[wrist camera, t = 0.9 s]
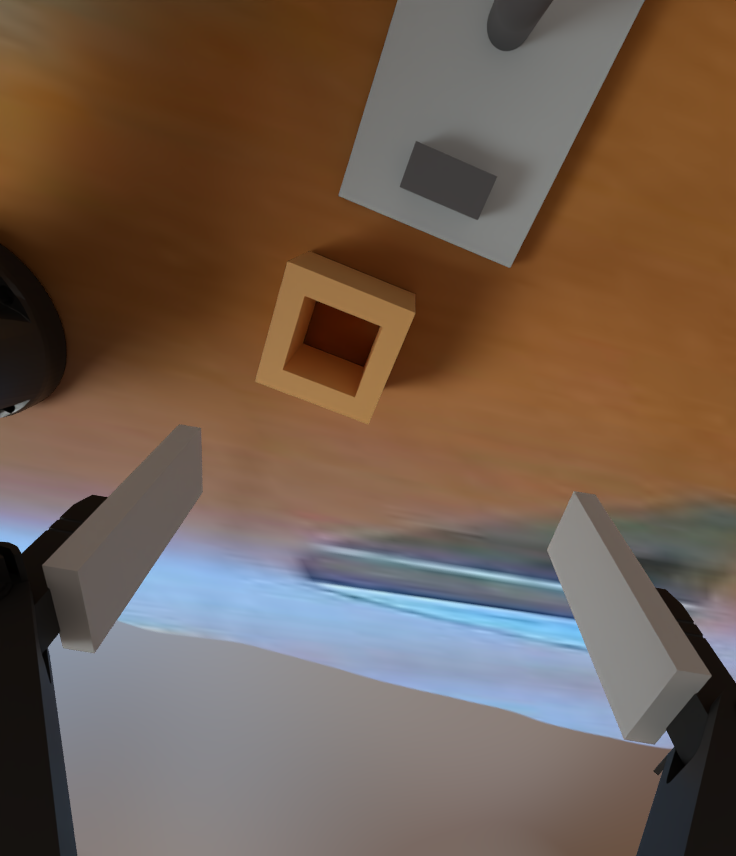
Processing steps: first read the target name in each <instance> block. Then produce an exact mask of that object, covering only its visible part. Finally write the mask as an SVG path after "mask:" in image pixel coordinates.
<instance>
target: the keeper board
mask: <svg viewBox="0 0 736 856" xmlns="http://www.w3.org/2000/svg"><path fill="white" fill-rule="evenodd" d="M643 2H644V0H398V1H397V4H396V7H395V11H394V14H393V17H392V21H391V24H390V27H389V30H388V34H387V37H386V40H385V44H384V47H383V50H382V54H381V57H380V60H379V63H378V67H377V70H376V73H375V77H374V80H373V83H372V87H371V90H370V93H369V96H368V100H367V103H366V106H365V110H364V113H363V116H362V120H361V123H360V126H359V129H358V133H357V136H356V139H355V143H354V146H353V149H352V153H351V156H350V159H349V163H348V166H347V169H346V172H345V176H344V179H343V182H342V186H341V189H340V192H339V196H340V197H342V198H345V199H347V200H350V201H352V202H354V203H357V204H359V205H361V206H364V207H366V208H369V209H371V210H373V211H376V212H378V213H380V214H383V215H385V216H388V217H390V218H392V219H395V220H397V221H399V222H402V223H404V224H407V225H409V226H411V227H414V228H416V229H418V230H421V231H423V232H426V233H428V234H430V235H433V236H435V237H437V238H440V239H442V240H445V241H447V242H449V243H452V244H454V245H456V246H459V247H461V248H464V249H466V250H468V251H471V252H473V253H476V254H478V255H480V256H483V257H485V258H487V259H490V260H492V261H495V262H497V263H499V264H502V265H504V266H506V267H509V268H510V267H511V265H512V263H513V261H514V259H515V257H516V255H517V253H518V251H519V249H520V247H521V245H522V243H523V241H524V239H525V237H526V235H527V233H528V231H529V229H530V227H531V225H532V223H533V221H534V219H535V217H536V215H537V213H538V211H539V209H540V207H541V205H542V203H543V201H544V200H545V198H546V196H547V194H548V192H549V190H550V188H551V186H552V184H553V182H554V180H555V178H556V176H557V174H558V172H559V170H560V168H561V166H562V164H563V162H564V160H565V158H566V156H567V154H568V152H569V150H570V148H571V146H572V144H573V142H574V140H575V138H576V136H577V134H578V132H579V130H580V128H581V126H582V124H583V122H584V120H585V118H586V116H587V114H588V112H589V110H590V108H591V106H592V104H593V102H594V100H595V98H596V96H597V94H598V92H599V90H600V88H601V86H602V84H603V82H604V80H605V78H606V76H607V74H608V72H609V70H610V68H611V66H612V64H613V62H614V60H615V58H616V56H617V54H618V52H619V50H620V48H621V46H622V44H623V42H624V40H625V38H626V36H627V34H628V32H629V30H630V28H631V26H632V24H633V22H634V20H635V18H636V16H637V14H638V12H639V10H640V8H641V6H642V4H643Z"/></svg>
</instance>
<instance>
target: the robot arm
mask: <svg viewBox="0 0 736 856" xmlns="http://www.w3.org/2000/svg"><path fill="white" fill-rule="evenodd" d="M65 364H66V343H65V336H64V332H63V328H62V325H61V322H60V319H59V316H58V314H57V311H56V309H55V307H54V305H53V303H52V301H51V299H50V298H49V296H48V294H47V293H46V291H45V290H44V288H43V287H42V285H41V284H40V282H39V281H38V280H37V278H36V277H35V276H34V275H33V274H32V272H31V271H30V270H29V269H28V268H27V267H26V266H25V265H24V264H23V263H22V262H21V261H20V260H19V259H18V258H17V257H16V256H15V255H14V254H13V253H11V252H10V251H9V250H8V249H6V248H5V247H4V246H2V245H1V244H0V418H1V417H7V416H10V415H14V414H16V413H19V412H21V411H23V410H25V409H27V408H29V407H31V406H33V405H35V404H37V403H38V402H40V401H42V400H44V399H45V398H46V397H48V396H49V395H50V394H51V393H52V392H53V391H54V390H55V388H56V387H57V386H58V384H59V382H60V380H61V378H62V375H63V372H64V369H65ZM202 492H203V489H202V446H201V428H198V427H192V426H186V425H180V424H179V425H178V426H177V427H176V428H175V429H174V430H173V431H172V432H171V433H170V434H169V435H168V436H167V437H166V438H165V439H164V440H163V441H162V442H161V443H160V444H159V446H158V447H157V448H156V449H155V450H154V451H153V452H152V453H151V454H150V455H149V456H148V457H147V458H146V459H145V460H144V461H143V462H142V463H141V464H140V465H139V466H138V467H137V468H136V469H135V470H134V471H133V472H132V473H131V474H130V475H129V476H128V477H127V478H126V479H125V480H124V482H123V483H122V484H121V485H120V486H119V487H118V488H117V489H116V490H115V491H114V492H113V493H112V494H111V495H110V496H109V497H103V496H97V495H91V496H89V497H87V498H85V499H83V500H81V501H80V502H78V503H76V504H74V505H73V506H72V507H71V508H69V509H68V510H67V511H66V512H65V513H64V514H63V515H62V516H61V517H60V520H57V521H56V522H55V523H54V524H52V525H51V526H50V527H49V530H48V531H47V530H46V531H45V532H44V533H43V534H42V535H41V536H40V537H39V538H38V539H37V540H35V541H34V542H33V543H32V544H31V545H30V546H29V547H28V548H27V549H26V550H25V551H24V552H23V553H22V554H21V552H20V550H19V548H18V547H17V546H15V545H13V544H11V543H9V542H0V856H77V850H76V843H75V837H74V828H73V821H72V815H71V807H70V800H69V792H68V785H67V778H66V771H65V763H64V756H63V749H62V741H61V734H60V728H59V720H58V712H57V706H56V698H55V691H54V684H53V676H52V670H51V662H50V655H49V651H48V646H49V645H50V644H51V642H52V641H53V640H54V639H55V637H56V636H57V635H58V633H59V634H60V637H61V642H62V646H63V648H66V649H72V650H78V651H84V652H90V653H95V652H96V650H97V649H98V647H99V646H100V644H101V643H102V641H103V639H104V638H105V637H106V635H107V634H108V632H109V631H110V629H111V628H112V626H113V625H114V623H115V622H116V620H117V619H118V618H119V616H120V615H121V613H122V612H123V610H124V609H125V607H126V606H127V604H128V603H129V601H130V600H131V598H132V597H133V595H134V594H135V592H136V591H137V589H138V588H139V586H140V585H141V583H142V582H143V580H144V579H145V577H146V576H147V574H148V573H149V571H150V570H151V568H152V567H153V565H154V564H155V562H156V561H157V559H158V558H159V556H160V555H161V553H162V552H163V550H164V549H165V547H166V546H167V545H168V543H169V542H170V540H171V539H172V537H173V536H174V534H175V533H176V531H177V530H178V528H179V527H180V525H181V524H182V522H183V521H184V519H185V518H186V516H187V515H188V513H189V512H190V510H191V509H192V507H193V506H194V504H195V503H196V501H197V500H198V498H199V497H200V495H201V494H202ZM547 551H548V554H549V556H550V559H551V561H552V564H553V566H554V568H555V571H556V573H557V576H558V578H559V581H560V583H561V586H562V588H563V591H564V593H565V595H566V598H567V600H568V603H569V605H570V608H571V610H572V613H573V615H574V618H575V620H576V623H577V625H578V627H579V630H580V632H581V635H582V637H583V640H584V642H585V645H586V647H587V650H588V652H589V654H590V657H591V659H592V662H593V664H594V667H595V669H596V672H597V674H598V677H599V679H600V682H601V684H602V686H603V689H604V691H605V694H606V696H607V699H608V701H609V704H610V706H611V709H612V711H613V713H614V716H615V718H616V721H617V723H618V726H619V728H620V731H621V733H622V736H623V738H624V740H630V741H636V742H642V743H648V744H654V745H655V743H656V742H657V741H658V740H659V739H660V737H661V736H662V735H663V734H664V733H665V731H666V730H667V732H668V734H669V736H670V738H671V741H672V743H673V745H674V748H673V749H672V750H671V751H670V752H669V753H668V755H667V756H666V757H665V758H664V759H663V760H662V762H661V763H660V764H659V765H658V766H657V767H656V769H655V770H654V772H655V773H656V774H657V775H659V774H660V773H661V771H662V770H663V772H662V775H661V778H660V781H659V785H658V788H657V791H656V794H655V798H654V801H653V804H652V807H651V810H650V813H649V817H648V820H647V823H646V827H645V829H644V833H643V836H642V839H641V842H640V846H639V849H638V852H637V855H636V856H736V683H735V681H734V680H733V678H732V677H731V675H730V674H729V672H728V671H727V670H726V668H725V667H724V665H723V664H722V662H721V661H720V659H719V658H718V656H717V655H716V653H715V652H714V650H713V649H712V648H711V646H710V645H709V643H708V642H707V640H706V639H705V638H703V634H702V633H701V631H700V630H699V629H698V627H697V626H696V625H694V623H693V622H694V621H693V620H692V618H691V617H690V615H689V614H688V612H687V611H686V609H685V608H684V607H683V605H682V604H681V603H680V602H679V601H678V600H677V599H675V598H674V597H673V596H672V595H671V594H670V593H669V592H668V591H667V590H666V589H660V588H655V587H654V585H653V584H652V582H651V580H650V579H649V577H648V576H647V574H646V573H645V571H644V570H643V568H642V566H641V565H640V563H639V562H638V560H637V559H636V557H635V556H634V554H633V552H632V551H631V549H630V548H629V546H628V545H627V543H626V542H625V540H624V538H623V537H622V535H621V534H620V532H619V531H618V529H617V528H616V526H615V524H614V523H613V521H612V520H611V518H610V517H609V515H608V514H607V512H606V510H605V509H604V507H603V506H602V504H601V503H600V501H599V500H598V498H597V496H596V495H594V494H588V493H582V492H576V491H574V492H573V494H572V496H571V499H570V501H569V503H568V505H567V507H566V510H565V512H564V514H563V516H562V518H561V521H560V523H559V525H558V527H557V529H556V531H555V534H554V536H553V538H552V540H551V542H550V545H549V547H548V549H547Z"/></svg>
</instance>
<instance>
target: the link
mask: <svg viewBox="0 0 736 856" xmlns="http://www.w3.org/2000/svg"><path fill="white" fill-rule="evenodd" d="M316 301H319V302H321V303H324V304H326V305H329V306H331V307H334V308H336V309H339V310H341V311H344V312H346V313H349V314H351V315H354V316H356V317H359V318H361V319H364V320H366V321H369V322H371V323H374V324H376V325H379V326H380V328H379V330H378V333H377V335H376V338H375V341H374V343H373V346H372V348H371V351H370V353H369V356H368V358H367V361H366V364H365V366H364V367H362V366H360V365H357V364H355V363H352V362H349V361H347V360H344V359H342V358H339V357H337V356H334V355H331V354H329V353H326V352H324V351H321V350H319V349H316V348H313V347H311V346H308V345H306V344H303V342H304V339H305V336H306V332H307V329H308V326H309V323H310V320H311V316H312V313H313V310H314V307H315V304H316ZM415 313H416V307H415V294H414V293H411V292H409V291H406V290H404V289H401V288H399V287H396V286H394V285H392V284H389V283H387V282H384V281H382V280H379V279H377V278H374V277H372V276H369V275H367V274H365V273H362V272H360V271H357V270H355V269H352V268H350V267H347V266H345V265H342V264H340V263H338V262H335V261H333V260H330V259H328V258H325V257H323V256H320V255H318V254H315V253H313V252H311V251H308V252H306V253H304V254H302V255H300V256H298V257H296V258H293V259H291V260H289V261H287V265H286V269H285V273H284V276H283V280H282V284H281V287H280V291H279V295H278V298H277V302H276V306H275V309H274V313H273V317H272V321H271V324H270V328H269V332H268V335H267V339H266V343H265V346H264V350H263V354H262V357H261V361H260V365H259V368H258V372H257V376H256V380H255V382H257V383H260V384H263V385H265V386H268V387H271V388H273V389H276V390H279V391H281V392H284V393H287V394H289V395H292V396H294V397H297V398H300V399H302V400H305V401H308V402H310V403H313V404H316V405H318V406H321V407H324V408H326V409H329V410H331V411H334V412H337V413H339V414H342V415H345V416H347V417H350V418H353V419H355V420H358V421H361V422H363V423H366V424H369V422H370V419H371V417H372V415H373V412H374V410H375V407H376V405H377V403H378V400H379V398H380V396H381V393H382V391H383V389H384V386H385V384H386V382H387V379H388V377H389V374H390V372H391V370H392V367H393V365H394V363H395V360H396V358H397V356H398V353H399V351H400V349H401V346H402V344H403V342H404V339H405V337H406V334H407V332H408V330H409V327H410V325H411V323H412V320H413V318H414V316H415Z"/></svg>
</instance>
